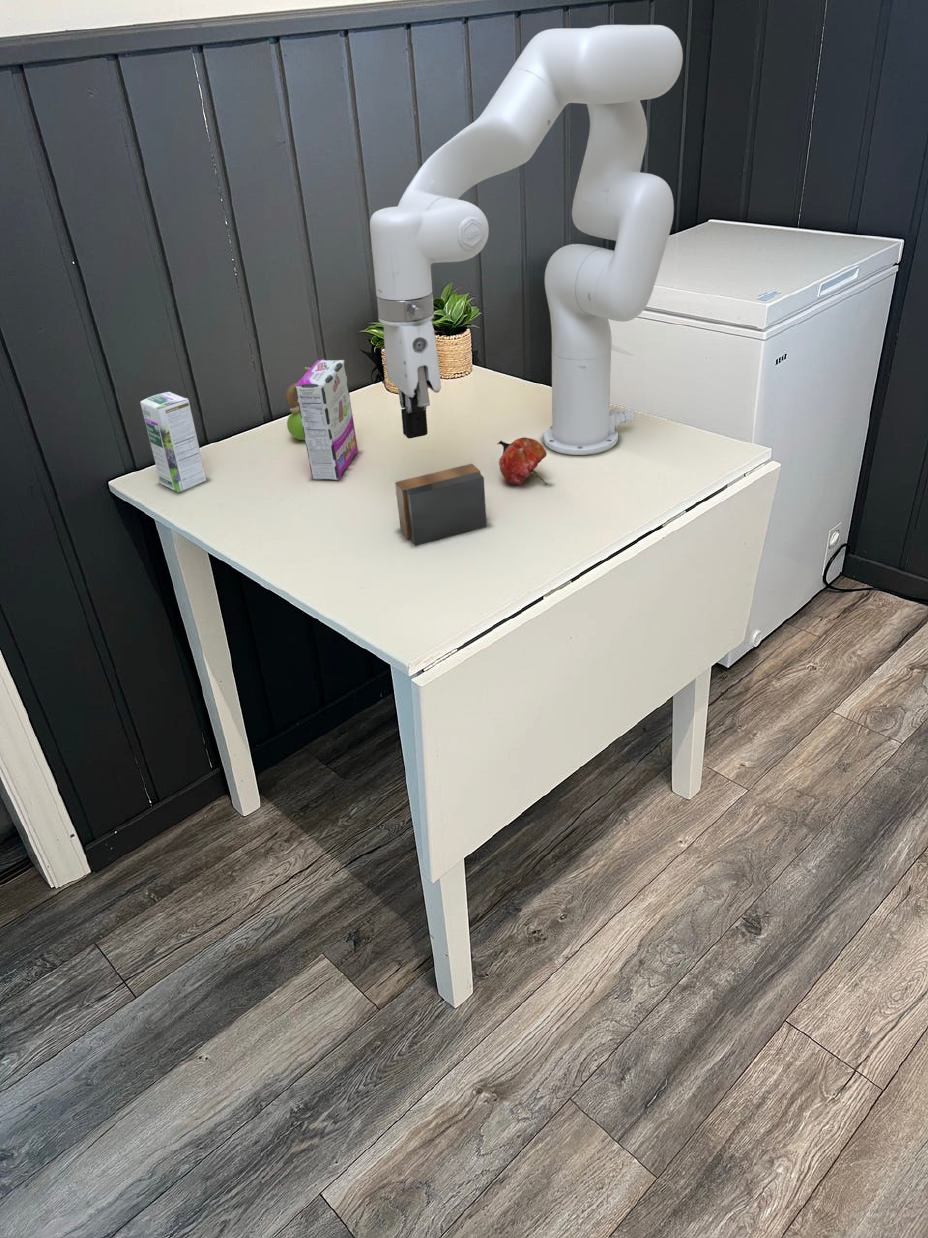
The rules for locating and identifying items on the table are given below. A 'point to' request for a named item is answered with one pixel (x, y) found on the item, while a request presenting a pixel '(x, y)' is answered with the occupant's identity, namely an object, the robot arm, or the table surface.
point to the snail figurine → (294, 413)
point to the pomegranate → (520, 459)
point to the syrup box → (173, 441)
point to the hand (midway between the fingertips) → (415, 434)
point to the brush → (441, 504)
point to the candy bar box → (327, 419)
